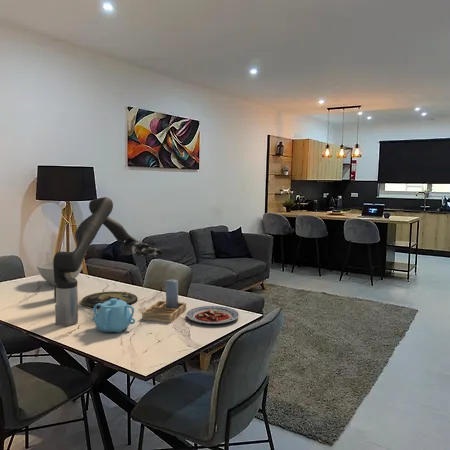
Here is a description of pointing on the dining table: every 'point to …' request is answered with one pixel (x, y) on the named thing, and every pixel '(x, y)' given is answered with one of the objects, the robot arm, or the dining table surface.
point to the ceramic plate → (212, 314)
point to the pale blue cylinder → (172, 294)
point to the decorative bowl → (48, 271)
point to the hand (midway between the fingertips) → (154, 253)
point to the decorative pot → (113, 316)
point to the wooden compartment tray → (163, 312)
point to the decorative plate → (108, 298)
